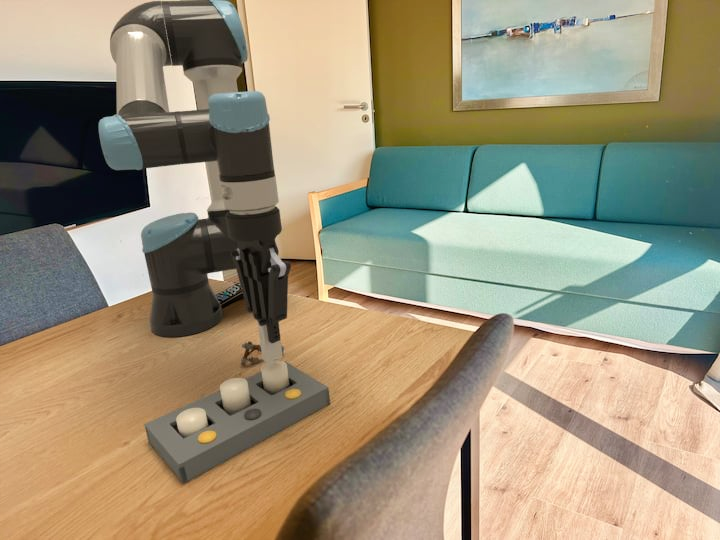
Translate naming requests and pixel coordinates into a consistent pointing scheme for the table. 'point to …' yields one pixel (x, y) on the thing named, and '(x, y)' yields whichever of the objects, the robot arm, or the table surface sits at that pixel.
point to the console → (234, 424)
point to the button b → (235, 395)
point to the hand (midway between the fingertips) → (272, 358)
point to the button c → (275, 376)
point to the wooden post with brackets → (251, 347)
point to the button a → (191, 421)
